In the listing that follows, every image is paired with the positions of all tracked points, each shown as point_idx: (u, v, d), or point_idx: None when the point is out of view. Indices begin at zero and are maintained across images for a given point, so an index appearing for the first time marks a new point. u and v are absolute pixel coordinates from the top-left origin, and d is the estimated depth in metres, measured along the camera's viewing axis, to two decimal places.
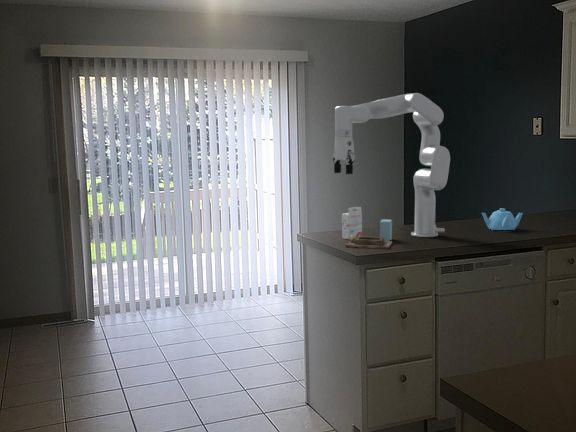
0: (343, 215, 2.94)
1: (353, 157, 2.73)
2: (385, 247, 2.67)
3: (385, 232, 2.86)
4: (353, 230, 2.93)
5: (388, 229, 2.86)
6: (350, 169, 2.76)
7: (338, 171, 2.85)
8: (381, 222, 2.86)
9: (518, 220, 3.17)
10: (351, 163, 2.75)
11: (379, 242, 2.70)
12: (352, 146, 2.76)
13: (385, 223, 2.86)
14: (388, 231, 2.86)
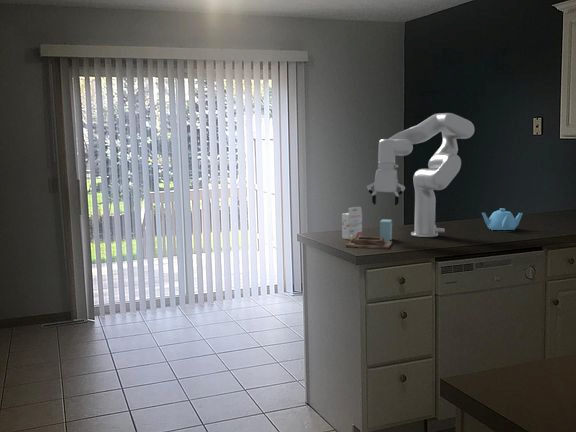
0: (343, 215, 2.94)
1: None
2: (385, 247, 2.67)
3: (385, 232, 2.86)
4: (353, 230, 2.93)
5: (388, 229, 2.86)
6: (398, 200, 2.86)
7: (375, 202, 2.89)
8: (381, 222, 2.86)
9: (518, 220, 3.17)
10: (399, 195, 2.86)
11: (379, 242, 2.70)
12: None
13: (385, 223, 2.86)
14: (388, 231, 2.86)
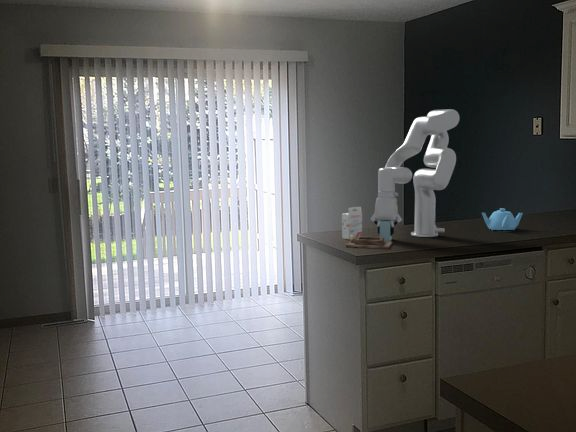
0: (343, 215, 2.94)
1: None
2: (385, 247, 2.67)
3: (385, 232, 2.86)
4: (353, 230, 2.93)
5: (388, 229, 2.86)
6: (393, 231, 2.89)
7: None
8: (381, 222, 2.86)
9: (518, 220, 3.17)
10: None
11: (379, 242, 2.70)
12: None
13: (385, 223, 2.86)
14: (388, 231, 2.86)
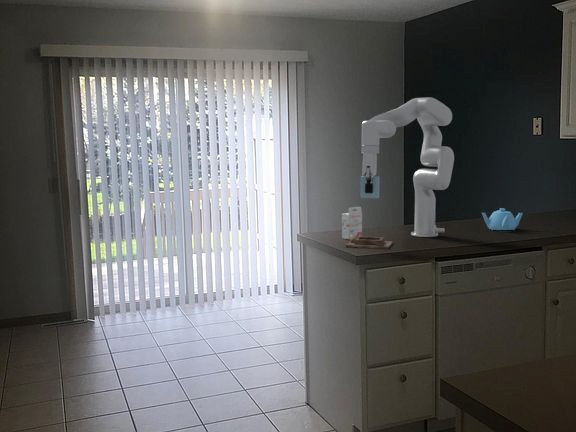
0: (343, 215, 2.94)
1: None
2: (385, 247, 2.67)
3: (378, 188, 2.73)
4: (353, 230, 2.93)
5: None
6: None
7: None
8: (378, 178, 2.70)
9: (518, 220, 3.17)
10: None
11: (379, 242, 2.70)
12: None
13: (378, 178, 2.72)
14: None
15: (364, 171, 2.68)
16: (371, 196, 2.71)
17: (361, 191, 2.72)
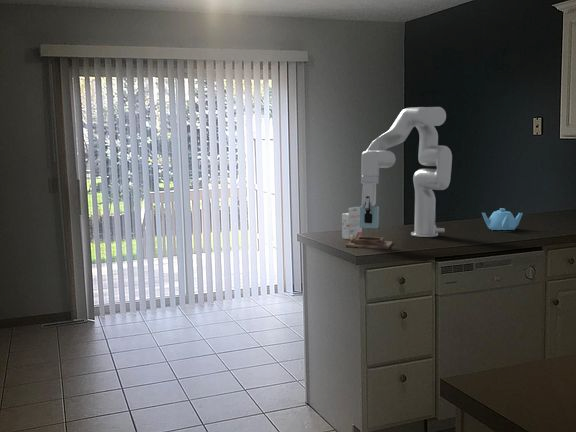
0: (343, 215, 2.94)
1: None
2: (385, 247, 2.67)
3: (378, 218, 2.74)
4: (353, 230, 2.93)
5: (378, 214, 2.75)
6: None
7: None
8: (377, 208, 2.72)
9: (518, 220, 3.17)
10: None
11: (379, 242, 2.70)
12: None
13: (378, 208, 2.73)
14: (378, 216, 2.75)
15: (363, 201, 2.70)
16: (370, 226, 2.73)
17: (360, 221, 2.74)
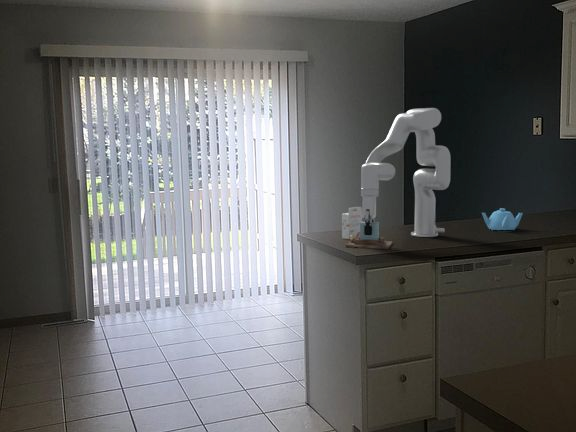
0: (343, 215, 2.94)
1: None
2: (385, 247, 2.67)
3: (378, 234, 2.75)
4: (353, 230, 2.93)
5: (378, 230, 2.76)
6: None
7: None
8: (377, 224, 2.73)
9: (518, 220, 3.17)
10: None
11: (379, 242, 2.70)
12: None
13: (378, 224, 2.74)
14: (378, 232, 2.76)
15: (364, 214, 2.70)
16: None
17: (361, 237, 2.75)
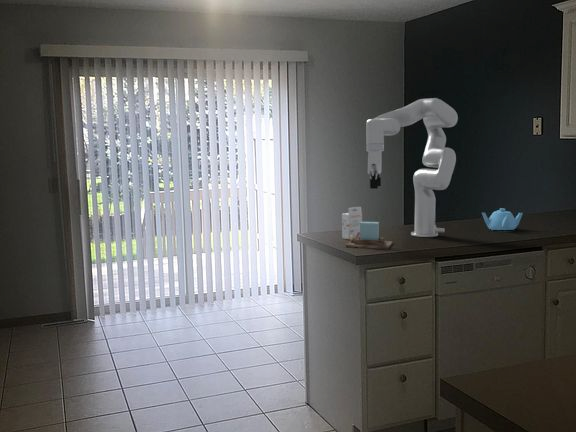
0: (343, 215, 2.94)
1: None
2: (385, 247, 2.67)
3: (378, 234, 2.75)
4: (353, 230, 2.93)
5: (378, 230, 2.76)
6: None
7: None
8: (377, 224, 2.73)
9: (518, 220, 3.17)
10: None
11: (379, 242, 2.70)
12: None
13: (378, 224, 2.74)
14: (378, 232, 2.76)
15: (369, 169, 2.72)
16: None
17: (361, 237, 2.75)
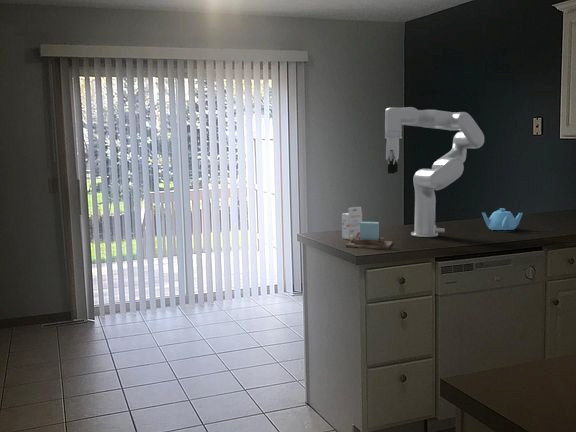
0: (343, 215, 2.94)
1: None
2: (385, 247, 2.67)
3: (378, 234, 2.75)
4: (353, 230, 2.93)
5: (378, 230, 2.76)
6: None
7: None
8: (377, 224, 2.73)
9: (518, 220, 3.17)
10: None
11: (379, 242, 2.70)
12: None
13: (378, 224, 2.74)
14: (378, 232, 2.76)
15: (388, 155, 2.86)
16: None
17: (361, 237, 2.75)
